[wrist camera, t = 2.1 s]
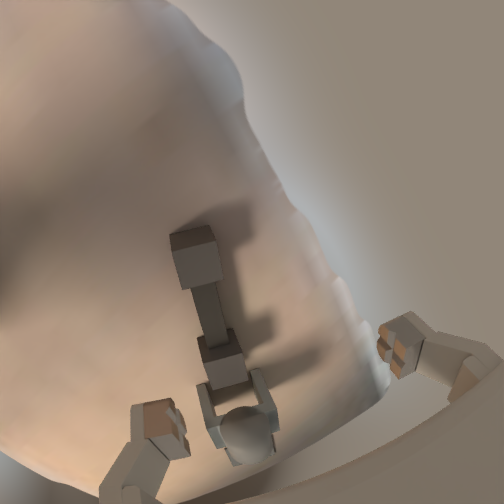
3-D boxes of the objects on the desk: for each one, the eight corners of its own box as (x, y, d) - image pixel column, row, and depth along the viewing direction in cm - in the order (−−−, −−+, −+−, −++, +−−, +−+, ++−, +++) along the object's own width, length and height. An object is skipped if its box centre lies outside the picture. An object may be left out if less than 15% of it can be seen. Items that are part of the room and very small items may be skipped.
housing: (196, 385, 39) (213, 455, 29) (258, 368, 41) (288, 433, 31) (206, 408, 42) (224, 472, 32) (262, 392, 44) (290, 452, 34)
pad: (224, 448, 49) (225, 450, 48) (270, 434, 51) (271, 436, 50) (232, 465, 53) (233, 466, 53) (274, 453, 55) (274, 454, 54)
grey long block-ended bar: (166, 235, 30) (169, 255, 26) (211, 224, 30) (220, 242, 27) (208, 372, 39) (215, 397, 35) (240, 363, 40) (250, 387, 36)
